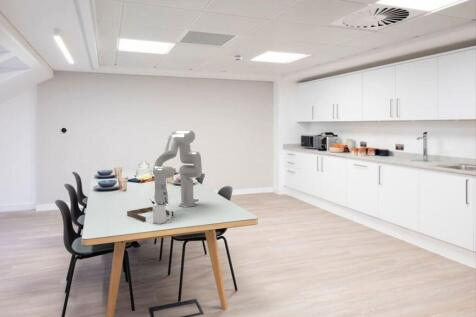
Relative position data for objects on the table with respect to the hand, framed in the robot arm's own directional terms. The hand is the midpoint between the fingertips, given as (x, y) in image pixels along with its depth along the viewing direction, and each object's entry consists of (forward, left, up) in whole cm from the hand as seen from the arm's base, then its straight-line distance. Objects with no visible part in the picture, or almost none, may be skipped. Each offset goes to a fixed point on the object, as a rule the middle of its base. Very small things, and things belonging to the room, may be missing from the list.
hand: (161, 213), depth 243 cm
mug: (+3, +6, -4) cm, 8 cm away
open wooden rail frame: (0, -15, -4) cm, 15 cm away
